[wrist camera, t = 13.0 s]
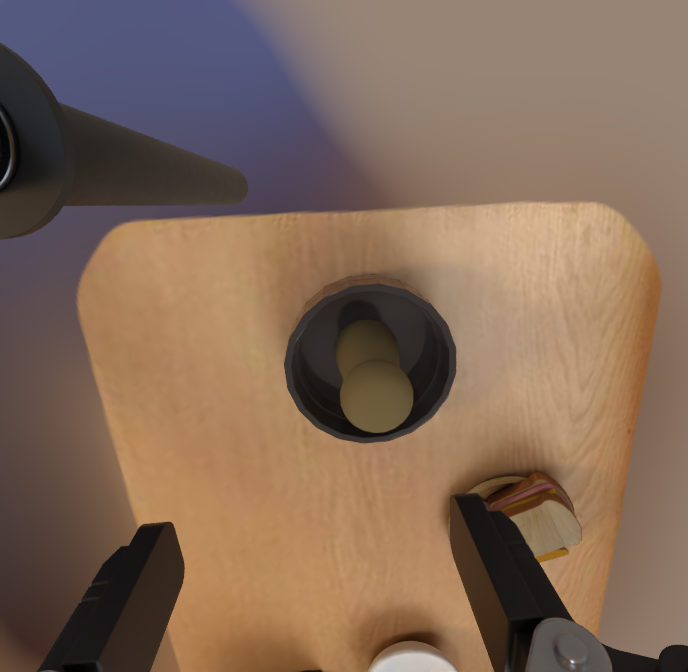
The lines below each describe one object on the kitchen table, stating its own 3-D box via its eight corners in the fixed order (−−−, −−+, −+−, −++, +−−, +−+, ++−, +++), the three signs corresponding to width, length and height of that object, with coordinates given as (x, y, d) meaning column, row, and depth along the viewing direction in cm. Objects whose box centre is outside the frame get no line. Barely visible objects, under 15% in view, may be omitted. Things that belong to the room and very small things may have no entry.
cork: (363, 306, 35) (377, 348, 25) (411, 347, 37) (442, 403, 26) (320, 353, 37) (315, 412, 26) (367, 391, 38) (381, 462, 28)
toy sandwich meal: (426, 500, 43) (437, 534, 39) (541, 447, 41) (567, 477, 37) (471, 574, 47) (486, 613, 42) (578, 528, 45) (606, 564, 40)
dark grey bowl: (300, 420, 39) (296, 449, 35) (281, 281, 35) (273, 293, 30) (440, 407, 39) (455, 435, 35) (439, 266, 35) (456, 276, 30)
